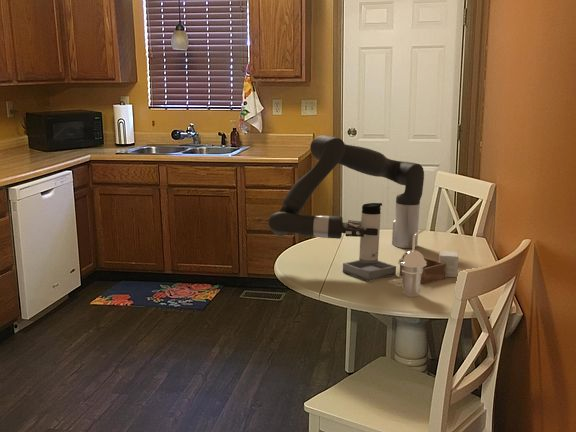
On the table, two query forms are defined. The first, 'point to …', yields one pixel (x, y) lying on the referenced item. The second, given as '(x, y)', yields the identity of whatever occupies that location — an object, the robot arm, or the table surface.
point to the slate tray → (369, 270)
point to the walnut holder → (432, 271)
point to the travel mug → (370, 242)
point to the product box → (449, 262)
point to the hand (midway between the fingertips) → (377, 229)
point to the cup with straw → (412, 269)
